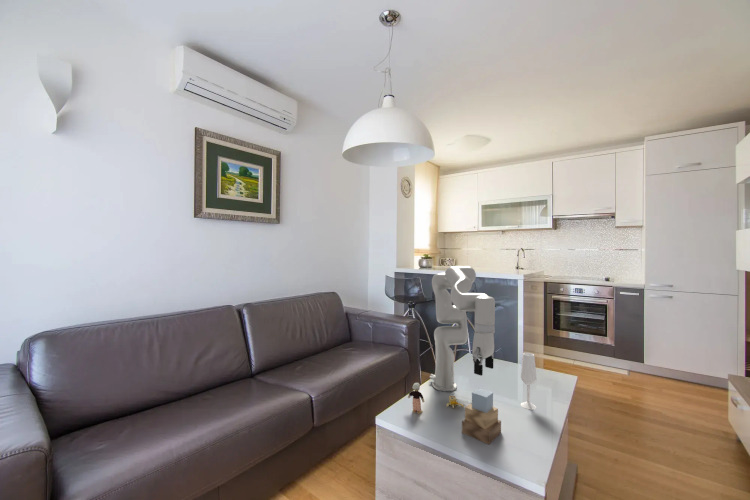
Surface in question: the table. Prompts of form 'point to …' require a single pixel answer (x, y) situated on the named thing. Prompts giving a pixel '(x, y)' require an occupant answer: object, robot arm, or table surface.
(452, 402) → the character toy
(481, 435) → the tower bottom
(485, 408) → the blue cube
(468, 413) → the tower top
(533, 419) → the table surface
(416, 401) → the grandmother figurine
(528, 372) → the champagne flute
